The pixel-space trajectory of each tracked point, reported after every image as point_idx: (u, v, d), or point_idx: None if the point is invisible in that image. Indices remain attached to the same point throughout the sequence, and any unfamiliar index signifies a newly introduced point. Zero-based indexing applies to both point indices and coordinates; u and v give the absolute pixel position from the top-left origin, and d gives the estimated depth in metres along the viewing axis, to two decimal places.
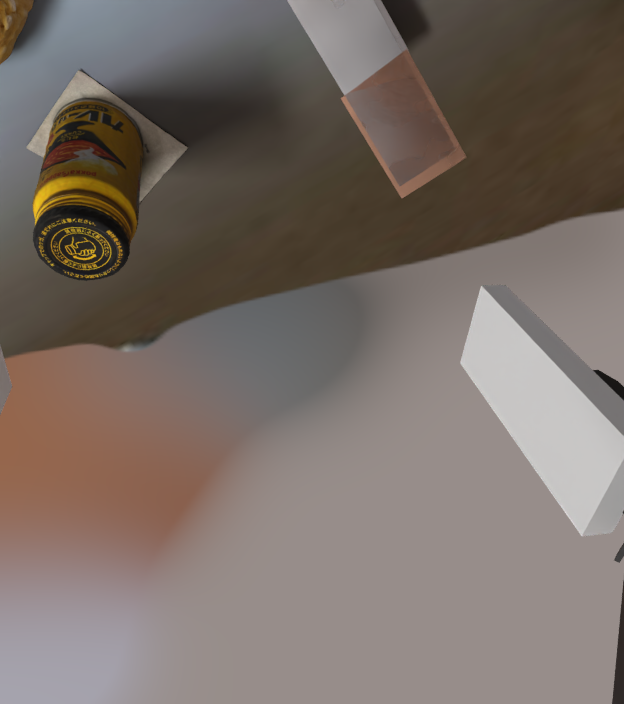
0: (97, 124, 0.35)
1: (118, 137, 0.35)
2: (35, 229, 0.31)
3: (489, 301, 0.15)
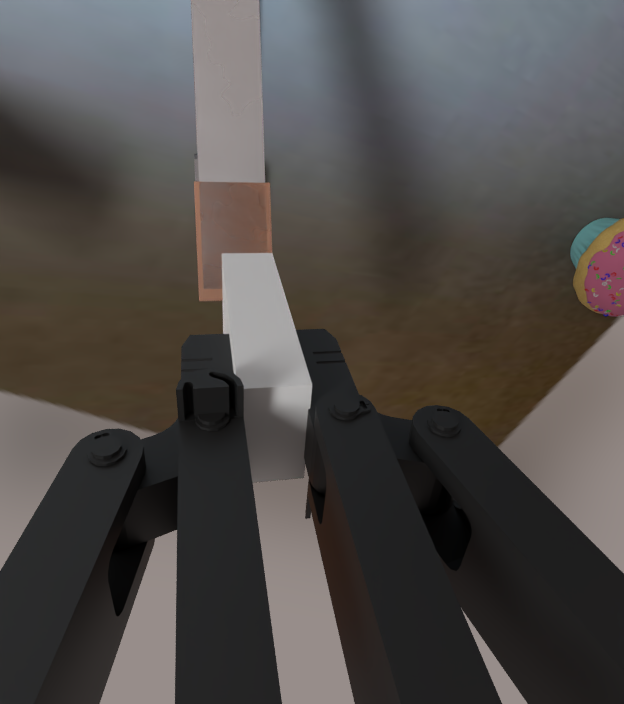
0: None
1: None
2: None
3: None
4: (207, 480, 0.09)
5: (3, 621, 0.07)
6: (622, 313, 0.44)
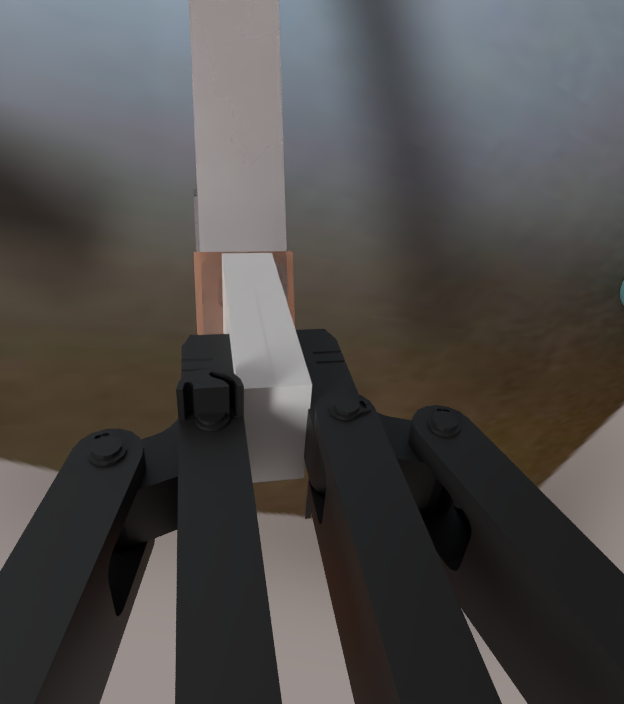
0: None
1: None
2: None
3: None
4: (207, 480, 0.09)
5: (3, 621, 0.07)
6: None
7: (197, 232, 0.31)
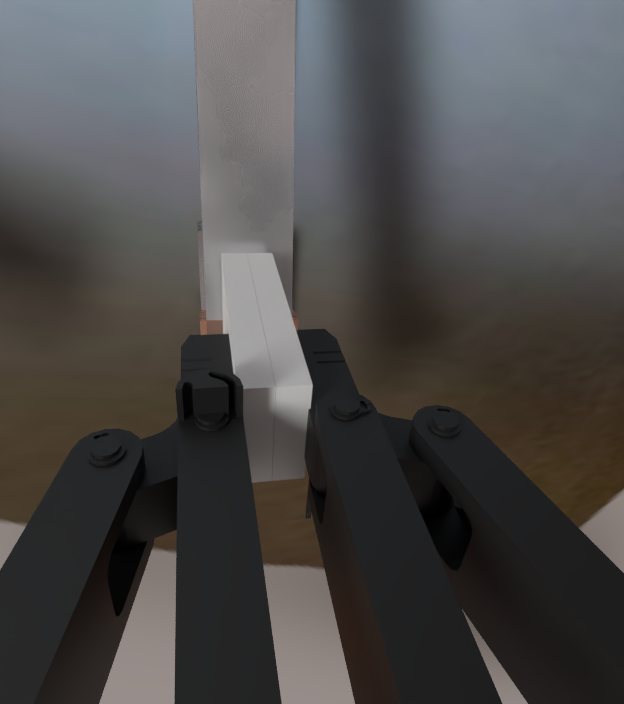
0: None
1: None
2: None
3: None
4: (207, 480, 0.09)
5: (2, 621, 0.07)
6: None
7: (201, 272, 0.26)
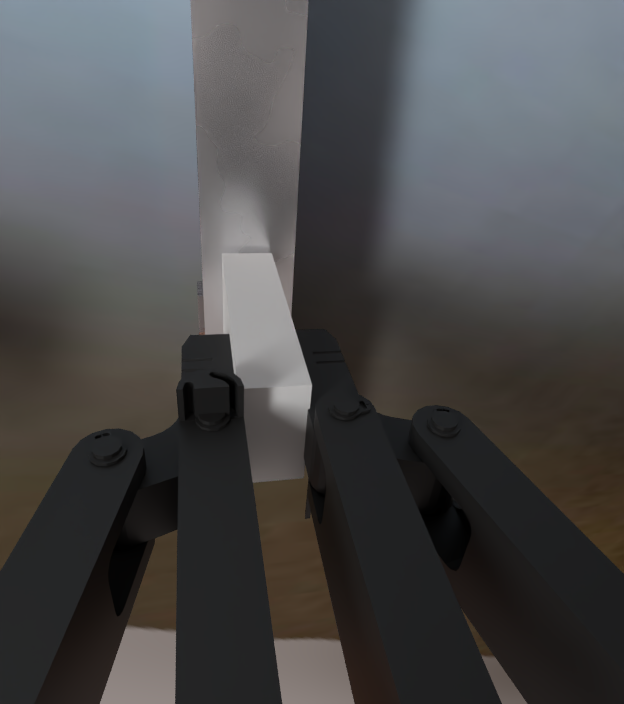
0: None
1: None
2: None
3: None
4: (207, 480, 0.09)
5: (3, 621, 0.07)
6: None
7: None
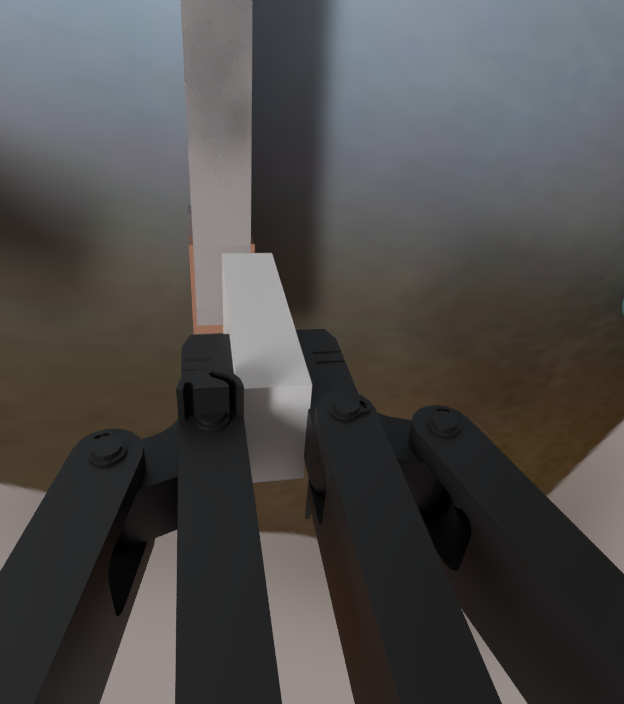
0: None
1: None
2: None
3: None
4: (207, 480, 0.09)
5: (3, 621, 0.07)
6: None
7: None
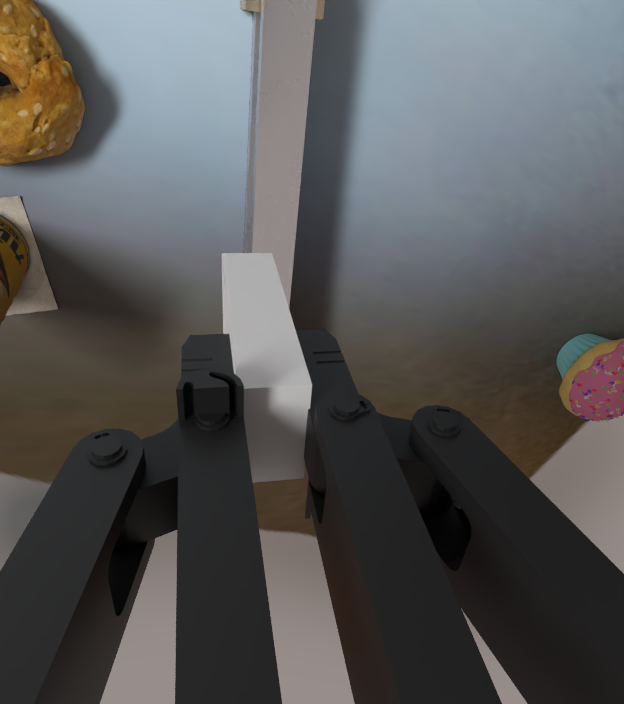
0: (5, 244, 0.34)
1: (16, 266, 0.35)
2: None
3: None
4: (207, 480, 0.09)
5: (3, 621, 0.07)
6: (601, 419, 0.51)
7: None
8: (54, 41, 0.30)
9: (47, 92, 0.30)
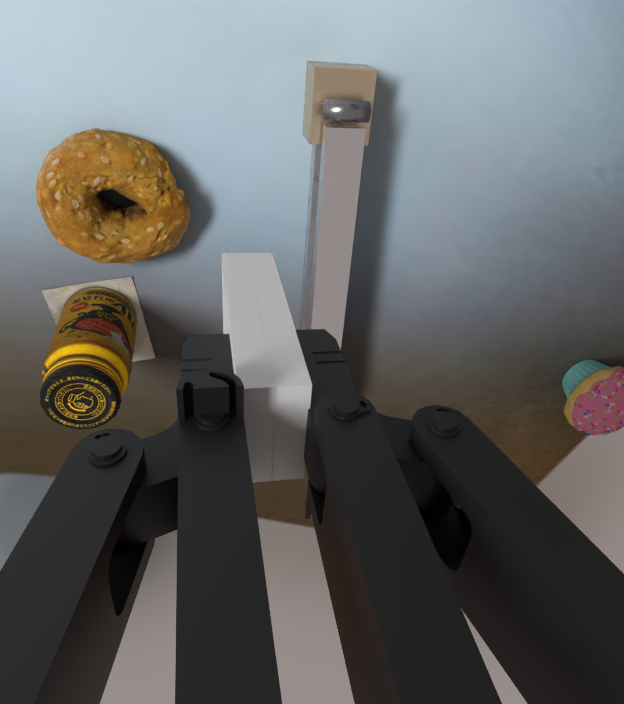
0: (124, 317, 0.44)
1: (132, 333, 0.45)
2: (62, 372, 0.37)
3: None
4: (207, 480, 0.09)
5: (3, 621, 0.07)
6: (600, 434, 0.60)
7: None
8: (172, 176, 0.40)
9: (167, 214, 0.40)
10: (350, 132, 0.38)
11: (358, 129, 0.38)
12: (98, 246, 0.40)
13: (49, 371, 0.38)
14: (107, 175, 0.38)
